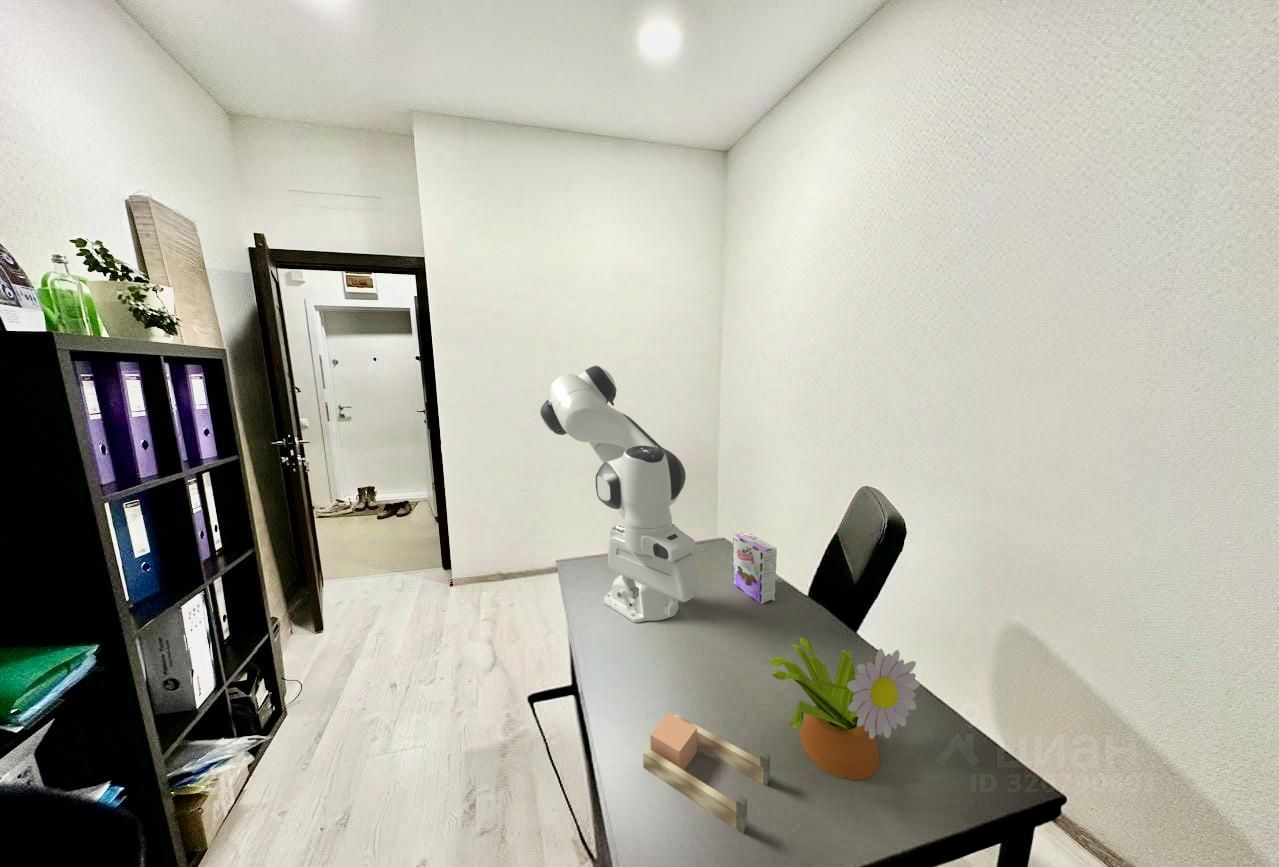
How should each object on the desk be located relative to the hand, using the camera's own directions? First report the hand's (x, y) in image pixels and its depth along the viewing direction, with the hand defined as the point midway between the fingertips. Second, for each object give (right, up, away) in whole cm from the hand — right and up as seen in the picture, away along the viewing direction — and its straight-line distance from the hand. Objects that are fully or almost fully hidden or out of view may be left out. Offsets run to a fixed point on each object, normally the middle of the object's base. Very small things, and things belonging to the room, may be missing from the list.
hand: (651, 605), depth 83 cm
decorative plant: (+35, -24, -1) cm, 42 cm away
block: (+4, -26, -4) cm, 26 cm away
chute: (+9, -26, -7) cm, 28 cm away
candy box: (+32, -16, +51) cm, 63 cm away
